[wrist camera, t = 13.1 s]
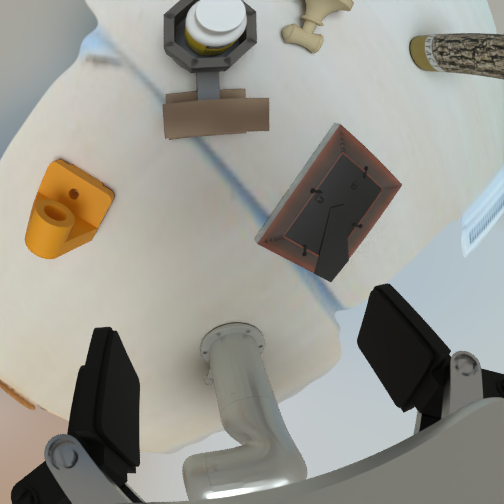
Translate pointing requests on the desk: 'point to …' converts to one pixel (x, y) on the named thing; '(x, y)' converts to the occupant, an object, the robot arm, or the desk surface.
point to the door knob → (313, 23)
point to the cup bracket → (209, 85)
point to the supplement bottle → (214, 26)
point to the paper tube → (460, 53)
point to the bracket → (65, 210)
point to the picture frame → (330, 205)
